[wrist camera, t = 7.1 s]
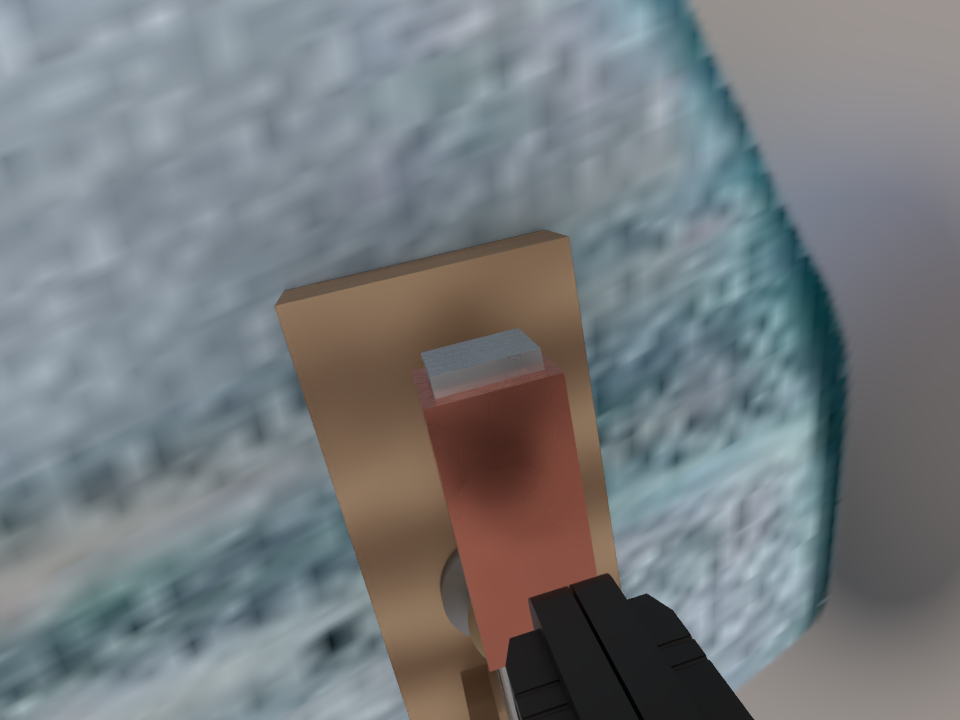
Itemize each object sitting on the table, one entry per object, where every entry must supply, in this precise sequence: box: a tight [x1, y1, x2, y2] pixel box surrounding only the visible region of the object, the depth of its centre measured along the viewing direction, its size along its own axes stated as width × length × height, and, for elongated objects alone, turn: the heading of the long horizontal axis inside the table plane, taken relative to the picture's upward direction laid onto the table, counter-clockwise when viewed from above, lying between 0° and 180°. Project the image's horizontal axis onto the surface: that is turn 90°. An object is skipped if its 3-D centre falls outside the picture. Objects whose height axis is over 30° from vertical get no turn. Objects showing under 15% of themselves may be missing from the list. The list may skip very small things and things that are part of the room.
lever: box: [412, 328, 597, 720], centre depth 18 cm, size 21×3×6 cm, turn 12°
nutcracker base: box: [275, 230, 621, 720], centre depth 21 cm, size 23×11×14 cm, turn 12°
